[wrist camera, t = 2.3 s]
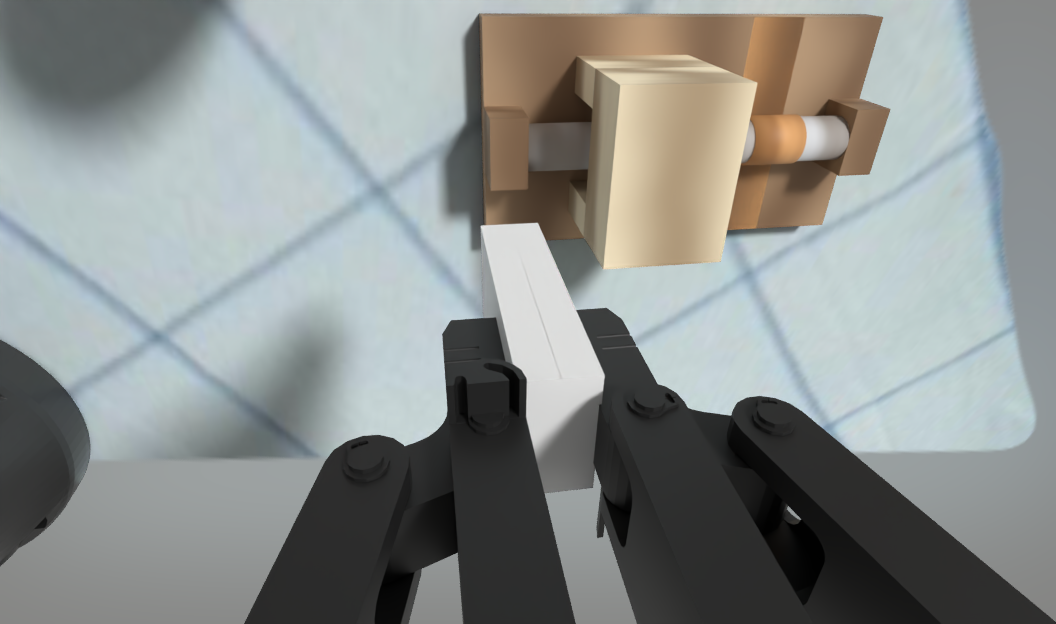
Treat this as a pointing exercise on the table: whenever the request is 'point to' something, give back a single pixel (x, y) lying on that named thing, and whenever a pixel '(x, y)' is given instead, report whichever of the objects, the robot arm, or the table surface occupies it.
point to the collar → (659, 158)
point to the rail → (719, 39)
